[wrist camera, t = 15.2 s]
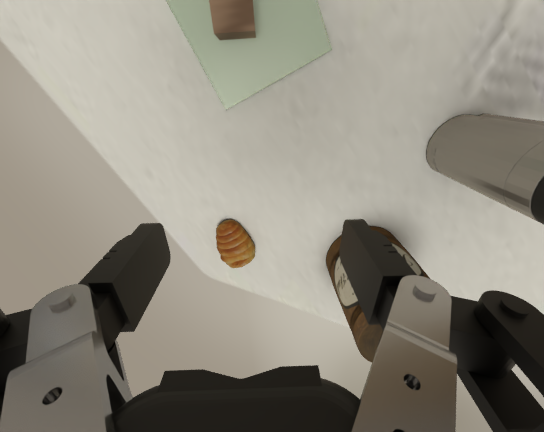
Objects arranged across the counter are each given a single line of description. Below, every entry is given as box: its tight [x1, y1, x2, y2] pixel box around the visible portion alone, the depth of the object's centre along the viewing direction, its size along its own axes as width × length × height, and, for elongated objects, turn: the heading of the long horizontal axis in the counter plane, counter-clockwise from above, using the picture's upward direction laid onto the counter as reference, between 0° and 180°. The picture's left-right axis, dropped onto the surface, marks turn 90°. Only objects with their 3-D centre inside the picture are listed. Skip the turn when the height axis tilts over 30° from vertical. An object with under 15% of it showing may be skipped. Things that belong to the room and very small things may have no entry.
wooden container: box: [326, 226, 430, 362], centre depth 39 cm, size 15×15×22 cm
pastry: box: [216, 219, 255, 268], centre depth 44 cm, size 9×7×4 cm
